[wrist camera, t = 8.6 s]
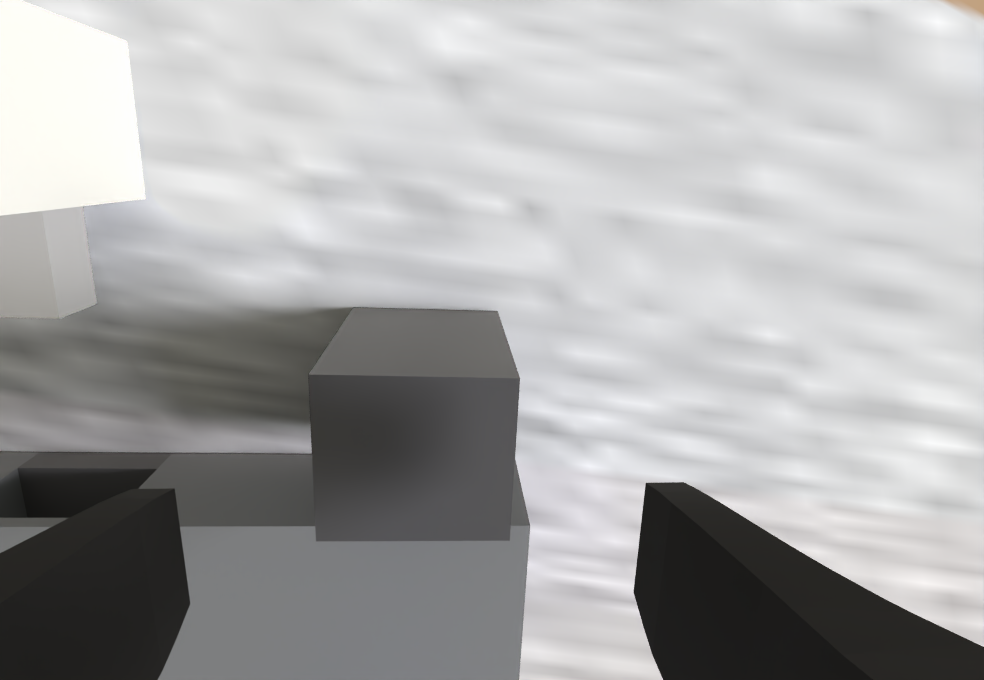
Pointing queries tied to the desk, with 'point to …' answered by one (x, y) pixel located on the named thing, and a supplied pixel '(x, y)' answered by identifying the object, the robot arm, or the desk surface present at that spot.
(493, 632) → the grey slotted block
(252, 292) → the desk surface
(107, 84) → the block
